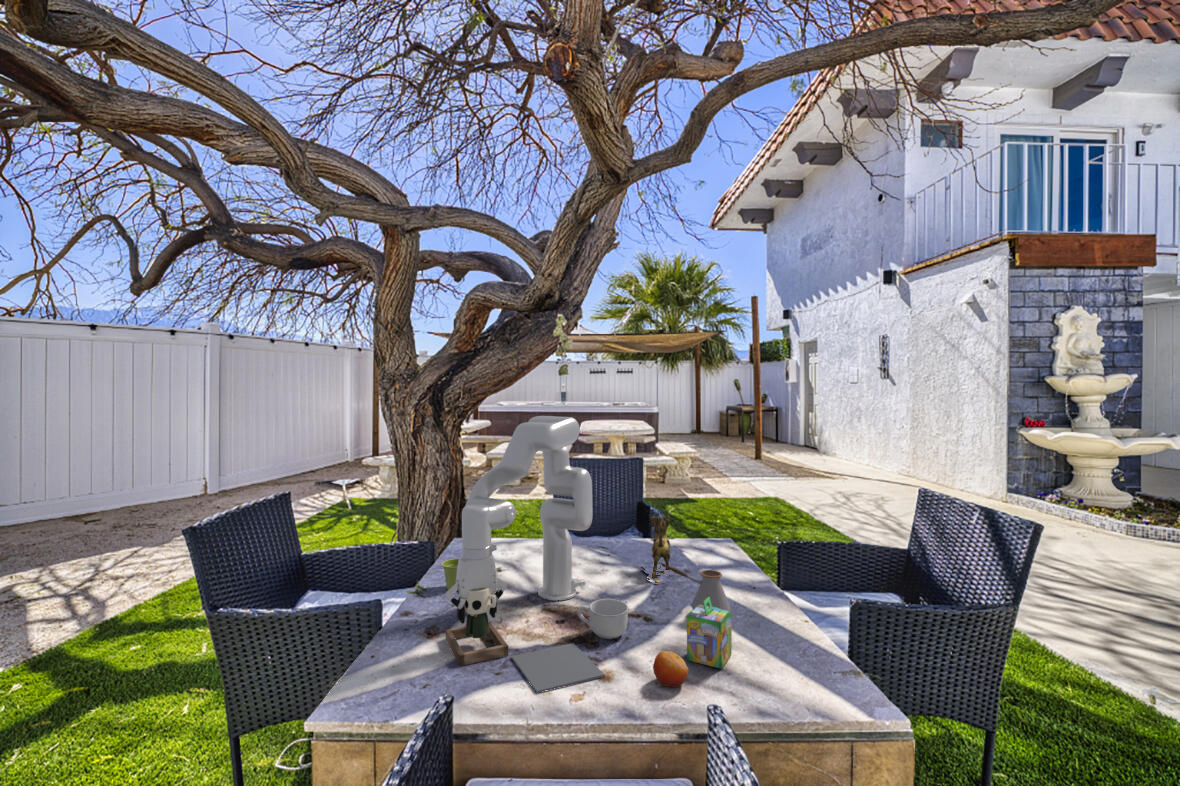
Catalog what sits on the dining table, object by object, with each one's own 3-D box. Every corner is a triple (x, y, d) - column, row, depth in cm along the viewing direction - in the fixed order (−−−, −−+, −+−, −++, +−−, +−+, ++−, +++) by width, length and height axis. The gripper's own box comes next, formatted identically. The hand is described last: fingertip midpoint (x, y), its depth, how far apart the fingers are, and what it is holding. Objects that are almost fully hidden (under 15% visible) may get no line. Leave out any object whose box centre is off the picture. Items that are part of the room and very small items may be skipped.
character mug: (452, 637, 146) (451, 588, 146) (466, 626, 153) (466, 579, 153) (488, 644, 143) (488, 593, 142) (502, 632, 149) (502, 584, 149)
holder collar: (490, 630, 157) (490, 621, 157) (508, 655, 143) (508, 645, 143) (445, 638, 152) (445, 629, 152) (459, 666, 137) (459, 655, 137)
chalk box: (721, 670, 136) (721, 609, 136) (685, 660, 141) (686, 601, 141) (733, 655, 144) (733, 597, 144) (699, 646, 149) (699, 590, 148)
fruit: (642, 669, 133) (659, 640, 134) (670, 685, 134) (687, 656, 134) (648, 687, 125) (667, 656, 126) (678, 704, 126) (696, 673, 126)
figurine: (675, 564, 218) (676, 512, 218) (674, 586, 194) (675, 527, 194) (642, 562, 220) (642, 510, 220) (637, 584, 196) (637, 526, 196)
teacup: (632, 629, 159) (632, 601, 159) (621, 646, 148) (622, 615, 148) (586, 622, 163) (586, 595, 163) (572, 638, 153) (572, 608, 153)
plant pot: (435, 590, 188) (435, 564, 188) (452, 581, 197) (452, 557, 197) (459, 594, 185) (459, 568, 185) (475, 585, 193) (475, 560, 193)
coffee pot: (729, 610, 173) (729, 561, 173) (731, 625, 162) (731, 573, 162) (660, 604, 177) (660, 557, 177) (657, 619, 166) (657, 568, 166)
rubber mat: (573, 645, 149) (573, 643, 149) (604, 676, 132) (604, 674, 132) (511, 658, 141) (511, 656, 141) (536, 693, 125) (536, 691, 125)
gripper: (504, 544, 154) (504, 607, 155) (440, 552, 147) (440, 619, 147) (513, 551, 148) (513, 618, 148) (446, 561, 140) (446, 631, 140)
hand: (477, 618), depth 148 cm, fingers closed on character mug, 7 cm apart
